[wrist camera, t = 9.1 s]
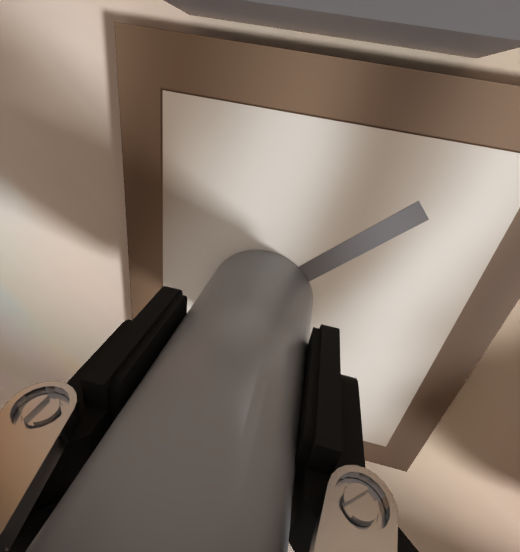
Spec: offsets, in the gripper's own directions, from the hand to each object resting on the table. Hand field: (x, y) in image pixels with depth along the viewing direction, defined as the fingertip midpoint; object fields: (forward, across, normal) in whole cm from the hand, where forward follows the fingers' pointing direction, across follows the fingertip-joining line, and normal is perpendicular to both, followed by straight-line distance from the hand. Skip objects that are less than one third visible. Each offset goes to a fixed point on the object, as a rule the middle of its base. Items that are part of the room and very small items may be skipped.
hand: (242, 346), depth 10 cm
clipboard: (+4, -2, 0) cm, 4 cm away
